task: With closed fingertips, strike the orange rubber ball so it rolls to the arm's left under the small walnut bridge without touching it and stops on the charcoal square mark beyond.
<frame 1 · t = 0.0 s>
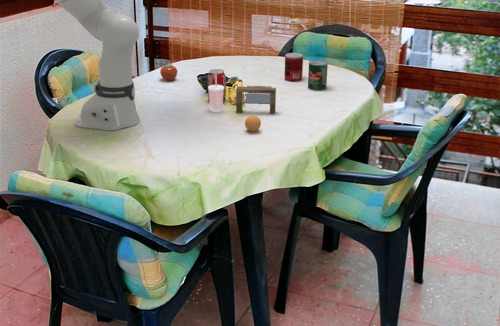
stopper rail: (259, 92, 255), on the table
beverage cup: (216, 110, 234), on the table
tomato: (169, 80, 270), on the table
canned tomato: (316, 88, 261), on the table
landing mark: (258, 98, 247), on the table
ball: (252, 123, 213), on the table
bridge: (255, 111, 233), on the table
soda can: (217, 101, 244), on the table
canned food: (293, 79, 273), on the table
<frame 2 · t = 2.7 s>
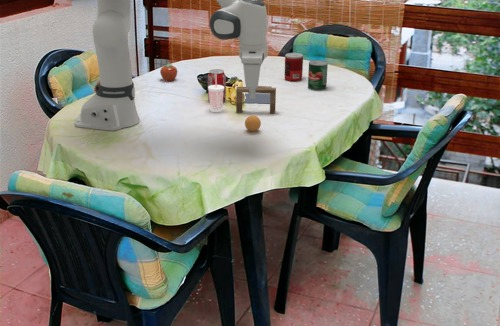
hand: (253, 93, 200), 16 cm above the table, tool pointing down, fingers open, 8 cm apart
nothing on the table moved.
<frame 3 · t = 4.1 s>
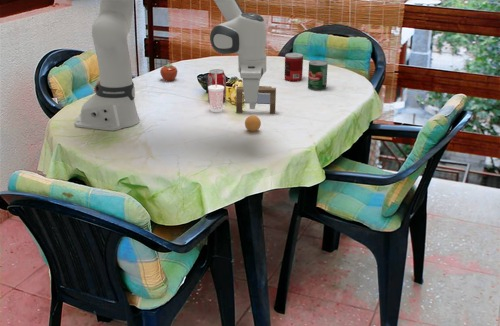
hand: (252, 107, 201), 12 cm above the table, tool pointing down, fingers closed
nothing on the table moved.
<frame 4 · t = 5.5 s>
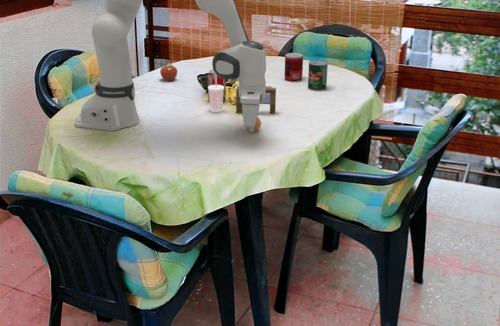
hand: (251, 130, 210), 2 cm above the table, tool pointing down, fingers closed
ball: (253, 123, 213), on the table, touching gripper
everything else where it was.
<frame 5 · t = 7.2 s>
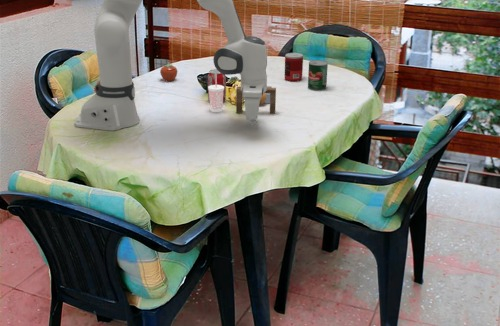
hand: (253, 123, 216), 2 cm above the table, tool pointing down, fingers closed
ball: (259, 97, 240), on the table
everything else where it was.
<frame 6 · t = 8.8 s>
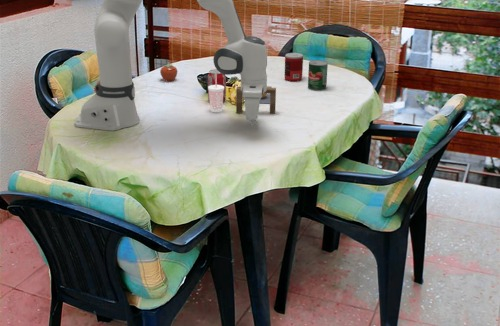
hand: (253, 123, 216), 2 cm above the table, tool pointing down, fingers closed
ball: (260, 91, 247), on the table
everything else where it was.
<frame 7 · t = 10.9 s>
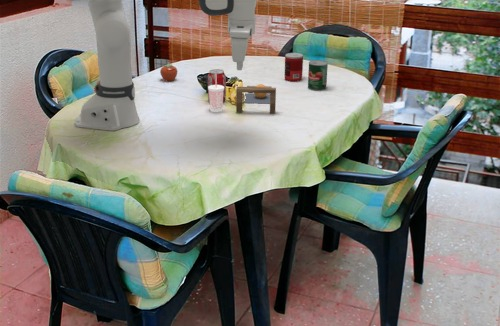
hand: (239, 69, 205), 22 cm above the table, tool pointing down, fingers closed
nothing on the table moved.
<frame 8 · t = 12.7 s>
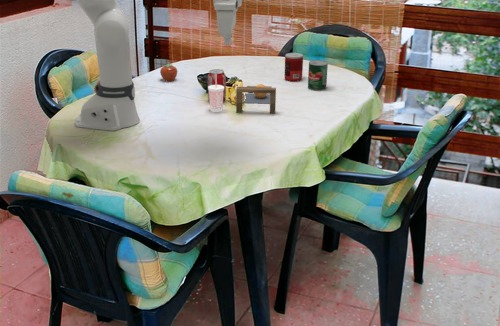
hand: (227, 44, 198), 31 cm above the table, tool pointing down, fingers closed
nothing on the table moved.
at the end: ball 1.6 cm from the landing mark (horizontally); ball never touched bridge; ball at rest at the end (0.0 cm/s) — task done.
